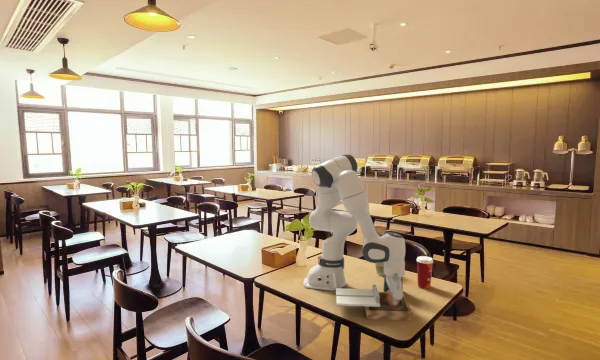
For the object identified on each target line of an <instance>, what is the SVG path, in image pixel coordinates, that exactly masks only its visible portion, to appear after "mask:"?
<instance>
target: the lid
mask: <svg viewBox="0 0 600 360" xmlns="http://www.w3.org/2000/svg"><path fill="white" fill-rule="evenodd" d="M371 286H372V289H371V288H370V289H367V288H345V287H342V288H336V290H335V295H336V297H335V298H336V299H335V300H336V306H344V307H345V306H347V307H348V306H349V307H364V306H373V307H380V296H379V293H378V292H379V290H378V286H377V285H376V284H372V285H371Z"/></svg>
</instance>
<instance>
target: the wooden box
mask: <svg viewBox="0 0 600 360" xmlns="http://www.w3.org/2000/svg"><path fill="white" fill-rule="evenodd" d="M378 293H379V296H380V307H373V306H363V309H364V313H365V317H366V320H384V321H405V322H407V321H408V322H409V321H412V311H411V306H410V304H409V302H408V301H407V298H406V296H405V294H404V292H402V300H400V306H399V307H398V308H391V307H389V306H388V305H387V292H384V291H378Z"/></svg>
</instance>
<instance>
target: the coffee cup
mask: <svg viewBox="0 0 600 360" xmlns="http://www.w3.org/2000/svg"><path fill="white" fill-rule="evenodd" d="M433 259H434V258H432V257H431V256H426V255H425V256H424V255H421V256H419V255H418V256H417V258H416V264H417V265H416V267H417V268H416V269H417V272H416V273H417V287H418V288H420V289H424V290H427V289H430V288H431V286H432V285H431V283H432V273H433V263H434V260H433Z"/></svg>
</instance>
